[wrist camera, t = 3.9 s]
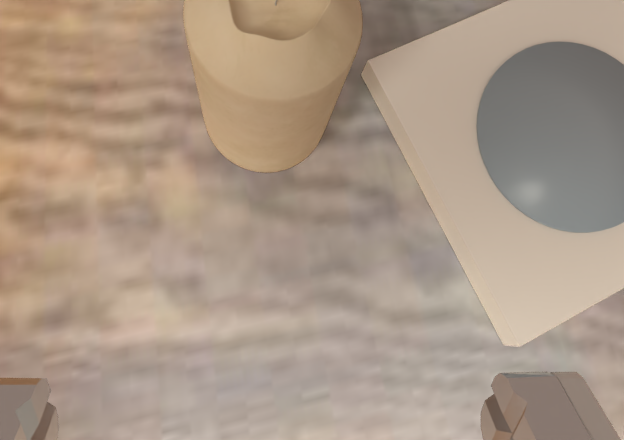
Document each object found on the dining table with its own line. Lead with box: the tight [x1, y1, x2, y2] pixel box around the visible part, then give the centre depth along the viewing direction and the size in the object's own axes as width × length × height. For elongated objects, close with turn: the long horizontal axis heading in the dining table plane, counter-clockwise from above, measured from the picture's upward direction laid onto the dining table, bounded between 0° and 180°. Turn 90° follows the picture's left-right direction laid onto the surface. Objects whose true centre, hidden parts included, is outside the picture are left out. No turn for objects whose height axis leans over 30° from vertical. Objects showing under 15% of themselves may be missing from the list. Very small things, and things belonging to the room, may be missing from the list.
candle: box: [183, 0, 363, 173], centre depth 20 cm, size 6×6×10 cm
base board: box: [361, 0, 624, 347], centre depth 26 cm, size 14×14×2 cm
